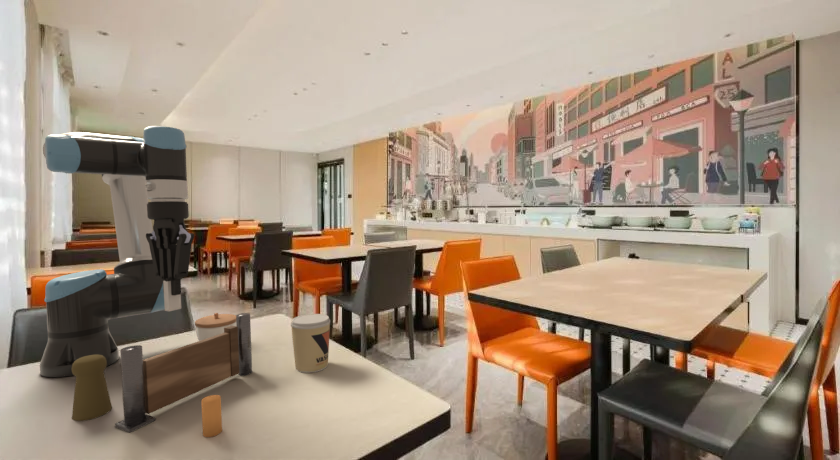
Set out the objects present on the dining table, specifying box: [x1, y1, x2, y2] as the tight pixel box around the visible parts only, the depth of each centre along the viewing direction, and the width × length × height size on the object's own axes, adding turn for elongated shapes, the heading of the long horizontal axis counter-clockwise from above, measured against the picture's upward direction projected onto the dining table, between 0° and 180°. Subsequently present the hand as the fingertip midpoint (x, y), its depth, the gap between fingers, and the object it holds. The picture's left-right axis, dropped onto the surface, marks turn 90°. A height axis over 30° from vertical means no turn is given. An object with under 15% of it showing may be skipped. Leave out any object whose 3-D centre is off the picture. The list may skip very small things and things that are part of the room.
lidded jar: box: [194, 312, 237, 341], centre depth 114 cm, size 11×11×9 cm
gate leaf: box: [143, 326, 239, 415], centre depth 84 cm, size 2×20×11 cm, turn 155°
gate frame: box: [114, 312, 253, 433], centre depth 83 cm, size 4×28×14 cm, turn 155°
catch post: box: [200, 394, 223, 438], centre depth 70 cm, size 3×3×6 cm
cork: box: [71, 355, 113, 422], centre depth 77 cm, size 6×6×11 cm
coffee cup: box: [290, 313, 331, 374], centre depth 98 cm, size 9×9×12 cm
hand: (173, 309), depth 87 cm, fingers closed
